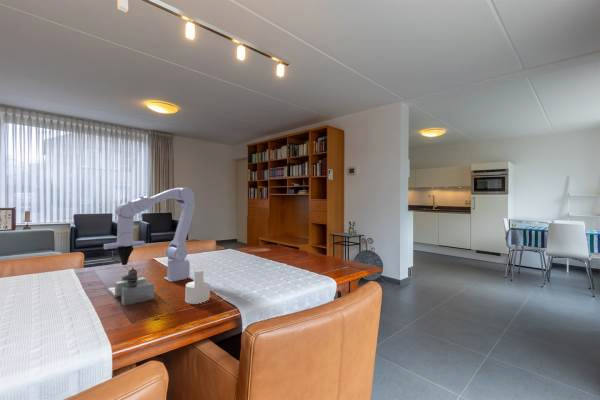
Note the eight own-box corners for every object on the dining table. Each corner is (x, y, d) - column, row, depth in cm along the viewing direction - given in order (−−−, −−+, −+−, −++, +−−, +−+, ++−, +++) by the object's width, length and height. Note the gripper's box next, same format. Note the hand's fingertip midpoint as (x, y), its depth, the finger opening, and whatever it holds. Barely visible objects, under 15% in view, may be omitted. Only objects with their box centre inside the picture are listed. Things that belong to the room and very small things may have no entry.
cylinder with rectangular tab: (185, 296, 109) (186, 266, 109) (208, 294, 112) (209, 265, 112) (185, 305, 100) (186, 272, 100) (210, 302, 104) (211, 270, 104)
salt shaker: (132, 302, 102) (133, 269, 102) (118, 300, 103) (119, 268, 103) (144, 296, 108) (145, 266, 108) (130, 295, 108) (131, 265, 108)
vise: (135, 285, 120) (135, 272, 120) (153, 298, 105) (154, 283, 105) (108, 290, 113) (108, 276, 113) (123, 305, 98) (124, 289, 98)
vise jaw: (140, 286, 115) (141, 273, 115) (145, 289, 111) (146, 275, 111) (112, 291, 108) (113, 277, 108) (116, 295, 104) (117, 280, 104)
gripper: (141, 230, 123) (140, 260, 123) (102, 232, 112) (101, 265, 112) (146, 231, 118) (145, 263, 118) (106, 234, 107) (105, 268, 107)
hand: (124, 264), depth 115 cm, fingers closed
